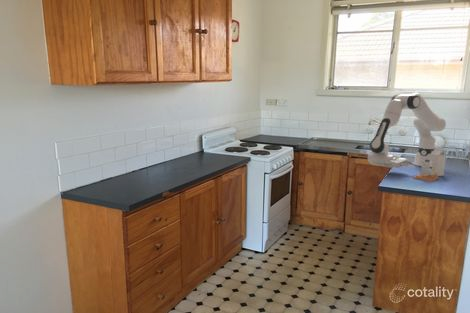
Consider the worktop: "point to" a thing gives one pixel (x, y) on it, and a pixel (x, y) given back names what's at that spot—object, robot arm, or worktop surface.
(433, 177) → the coupler
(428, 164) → the lock
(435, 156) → the milk carton
